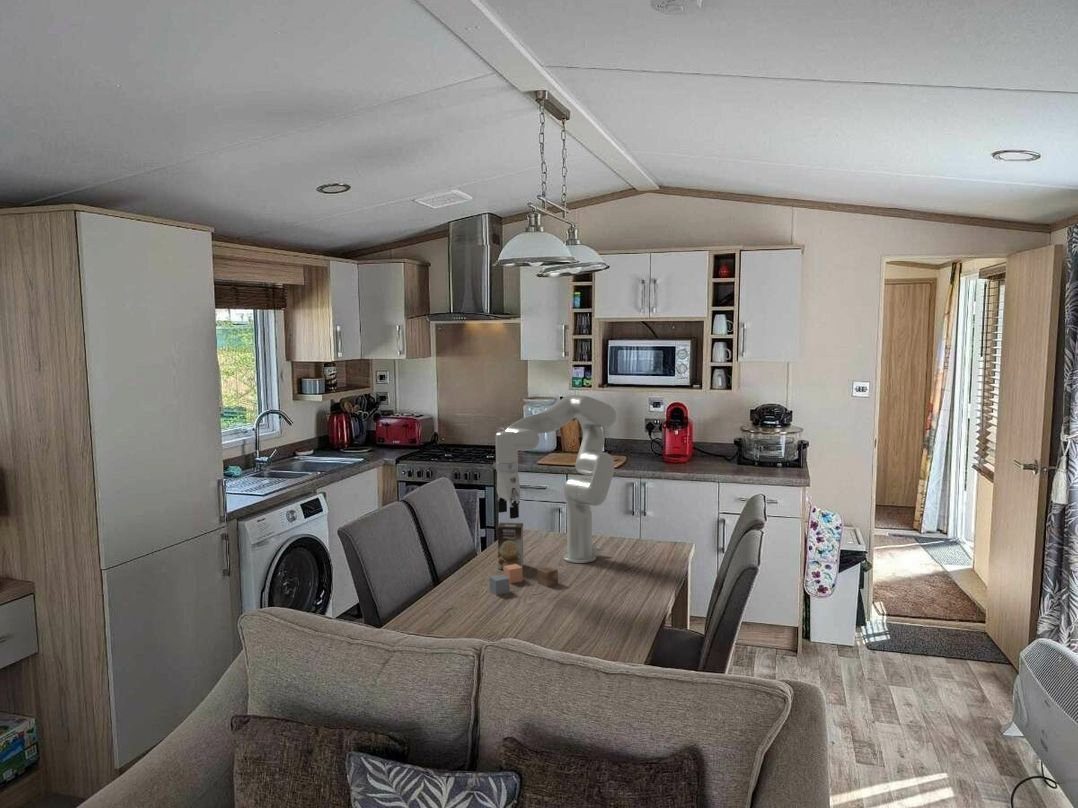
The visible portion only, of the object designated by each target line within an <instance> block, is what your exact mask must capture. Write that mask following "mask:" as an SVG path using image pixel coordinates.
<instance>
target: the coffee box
mask: <svg viewBox="0 0 1078 808" xmlns="http://www.w3.org/2000/svg"><path fill="white" fill-rule="evenodd" d="M497 564H498V565H497V569H499V570H503V566H507V565H512V564H517V565H519V566H521V567H522V568H523V567H524V523H522V522H499V524H498V526H497Z"/></svg>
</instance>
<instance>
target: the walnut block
mask: <svg viewBox="0 0 1078 808" xmlns="http://www.w3.org/2000/svg"><path fill="white" fill-rule="evenodd" d="M558 571H559V570H558V568H554V567H552V566H549V565H548V566H545V567H541V568H538V569H537V584H539V585H542V586H544V587H550V586H553V585H557V584H559V572H558Z"/></svg>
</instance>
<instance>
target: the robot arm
mask: <svg viewBox="0 0 1078 808" xmlns="http://www.w3.org/2000/svg"><path fill="white" fill-rule="evenodd" d="M574 419H577V421H578V423H579V424H580V426H581V429H582V439H581V444H580V447H579V450H578V453H577V456H576V459H575V466H574V467H575V470H576V471H577V472H578V473H580V474H582V475H584V476H585V475H586V476H591V478H588V477H582V476H572V477H569V478H568V479H567V480H566V481H565V483H564V486H563V495H564V500H565V505H566V538H567V539H566V540H567V541H566V545H567V547H566V548H567V552H566V553H564V554H563V557H562V558H563V560H565V561H566V562H567V563H574V564H586V563H592V562H594V561H595V560H597V554H596V553H597V552H603V551H604V546H603V545H598V546H597V545H593V514H592V509H591V506H594V507H597V506H601V505H602V504H603V503H605V500H606V498H607V496H608V493H609V490H610V486H611V485H612V484H611V483H612V480H613V477H614V472H615V460H614V458H613V456H612V455H611V454H609V453H608V452H604V451H603V450H604V446H605V433H604V431H603V429H602V428H610V427H612V426H613V425H614V424H615V422H616V421H617V412H616V410H615V408H614V407H613V406H611V405H610V404H608V403H607V402H606V403H605V402H602V401H600V400H598V399H596V398H593V397H591V396H588V395H577V394H571V395H569V394H568V395H566V396H564V397H563V398H561V399H560V400H558V401H557V402H555V403H554V404H552V405H551V406H549V407H548V408H546V409H545V410H542V411H540V412H536V413H534V414H531V415H528V416H525V417H523V418H521V419H518V420H517V421H516V422H514V423H512V424H511V425H509V426H508V427H507V428H506V429H505V430H502V431H498V432H496V434H495V439H494V440H495V468H496V469H495V470H496V472H497V475H496V476H497V477H496V488H495V489H496V490H495V491H496V497H497V499H496V500H497V511H498V513H499V514H500V513H506V512H508V502H509V505H510V506H509V519H518V518H519V517H520V511H519V510H520V508H519V507H520V502H521V501H520V500H521V487H520V486H521V482H520V478H519V472H518V471H519V455H518V452H519V451H522V452H523V451H527V452H528V451H533V450H535V449H536V448H537V447H538V445H539V444H540V437H539V434H547V433H552V432H556V431H558V430H560V429H561V428H562V427H564V426H565V425H566V424H568V423H570V421H572V420H574Z"/></svg>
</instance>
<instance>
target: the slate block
mask: <svg viewBox="0 0 1078 808" xmlns="http://www.w3.org/2000/svg"><path fill="white" fill-rule="evenodd" d="M510 589H511V588H510V583H509V578H508V577H506V576H505V575H504V573H502V574H497V575H491V576H489V591H490V592H491V593H492V594H493V595H495V596H500V595H504V594H509V593H510V592H511V590H510Z"/></svg>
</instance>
